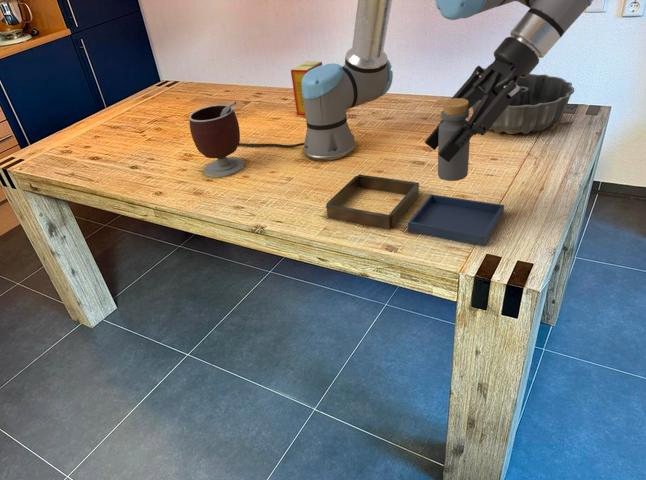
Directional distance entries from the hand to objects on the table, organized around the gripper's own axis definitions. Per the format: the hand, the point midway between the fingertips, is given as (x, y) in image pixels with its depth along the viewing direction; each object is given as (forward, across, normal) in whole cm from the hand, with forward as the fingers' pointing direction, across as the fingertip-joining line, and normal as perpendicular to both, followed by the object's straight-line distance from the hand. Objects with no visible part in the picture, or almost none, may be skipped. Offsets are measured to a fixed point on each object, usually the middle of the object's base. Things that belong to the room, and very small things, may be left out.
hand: (436, 151), depth 100 cm
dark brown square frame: (+19, +14, -6) cm, 24 cm away
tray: (+9, -1, -15) cm, 18 cm away
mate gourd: (+42, +55, +18) cm, 71 cm away
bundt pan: (-18, +42, -42) cm, 62 cm away
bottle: (+2, 0, -7) cm, 7 cm away
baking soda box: (+18, +89, -6) cm, 91 cm away
